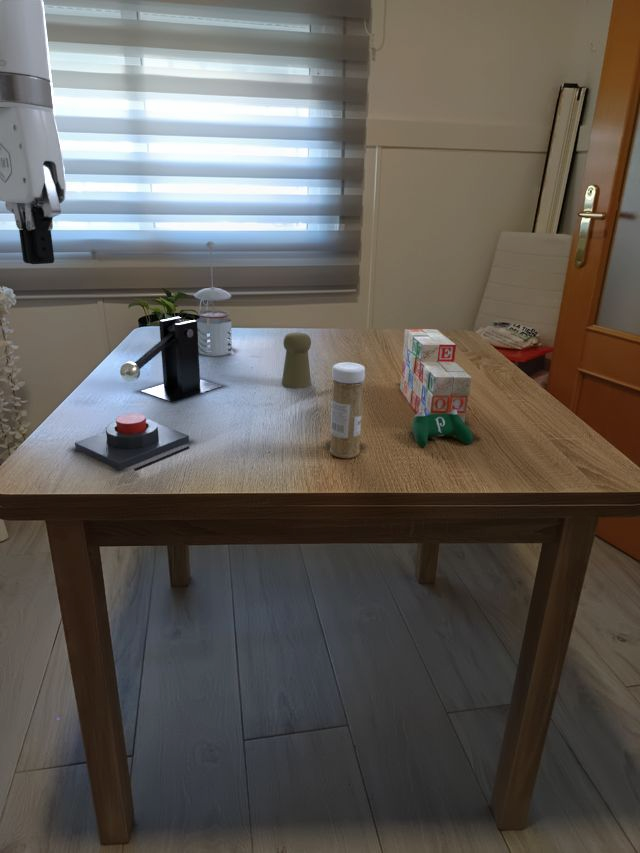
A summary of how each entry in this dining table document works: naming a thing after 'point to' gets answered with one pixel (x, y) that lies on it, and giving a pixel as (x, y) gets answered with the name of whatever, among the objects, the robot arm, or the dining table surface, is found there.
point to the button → (131, 423)
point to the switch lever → (147, 356)
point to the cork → (296, 361)
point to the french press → (213, 321)
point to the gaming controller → (440, 427)
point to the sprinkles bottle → (346, 409)
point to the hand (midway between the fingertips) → (39, 262)
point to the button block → (132, 445)
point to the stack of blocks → (433, 374)
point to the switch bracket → (180, 364)
